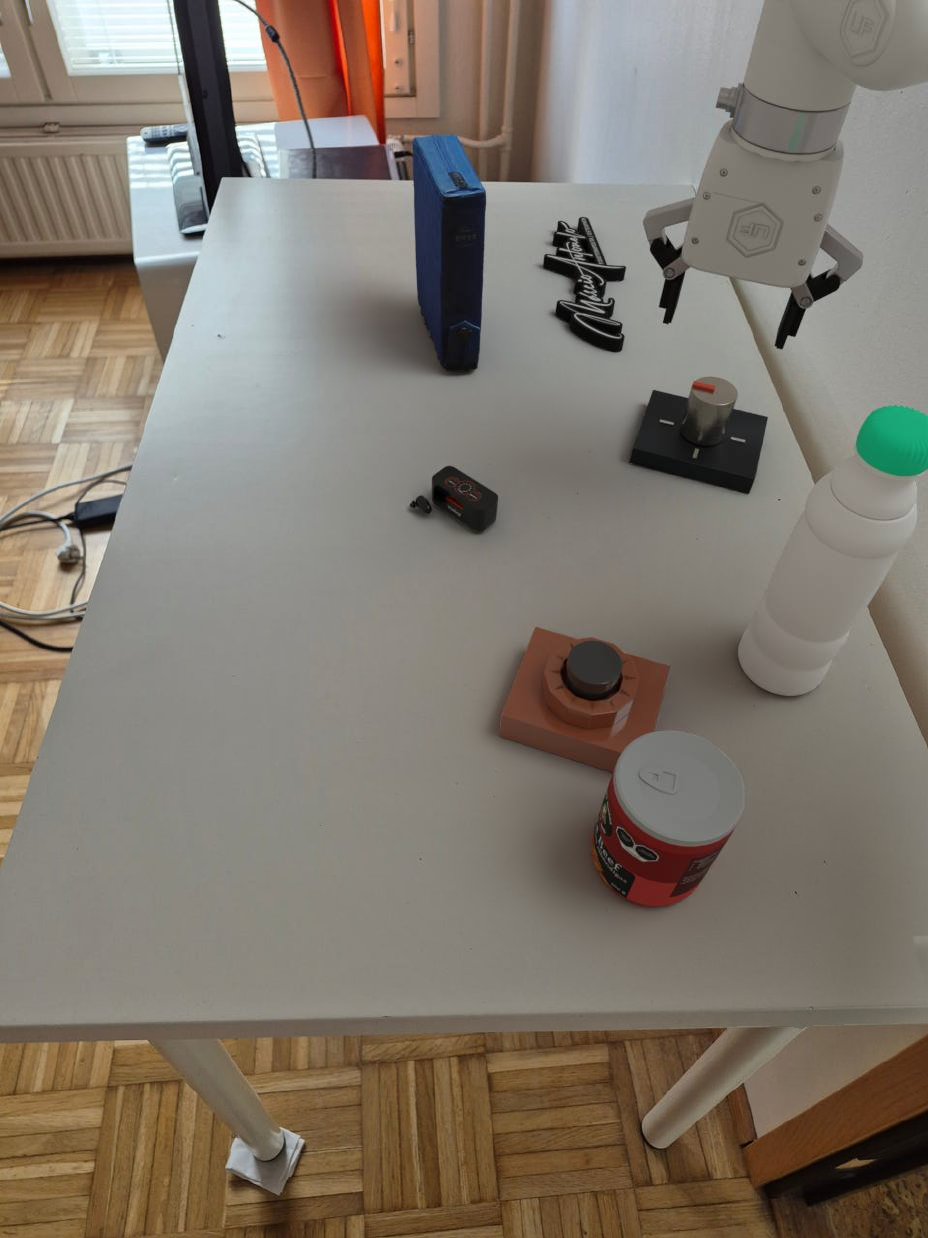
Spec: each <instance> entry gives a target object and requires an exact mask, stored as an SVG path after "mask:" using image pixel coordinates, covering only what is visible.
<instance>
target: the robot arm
mask: <svg viewBox="0 0 928 1238" xmlns="http://www.w3.org/2000/svg"><path fill="white" fill-rule="evenodd" d="M746 66H747V67H746V69H745V73H744V78H743V82H742V83H741V82H738V84H737V87H736V86H731V88H728V87H723V86H720V89H719V93H718V96H717V99H716V104H715V109H719V110H720V109H721V110H725V111H724V112H725V113H730V114H729V118H730V119H729V120H727V121H726V122H725V123H724V124H723V125H722V127H721V128H720V130H719V132H718V134H717V136H716V138H715V140H714V142H713V145H712V147H711V150H710V152H709V155H708V157H707V160H706V162H705V166H704V168H703V171H702V174H701V177H700V180H699V184H698V187H697V190H696V193H695V196H694V197H690V198H687V199H683V200H680V201H676V202H673V203H669V204H665V205H663V206H658V207H655V208H652V209H649V210H647V212H646V213H645V216H644V217H643V221H642V225H643V229H644V233H645V236H646V238H647V239H646V240H647V242H648V244H649V252H650V254H651V255H652V257H653V259H654V260H655V262H656V263H657V264H658V266H659V268H660V269H661V270H662V277H663V278H664V281H663V286H662V290H661V295H660V298H659V302H658V303H659V304H658V308H660V309H665V312H664V316H663V318H662V324H666V325H669V324H672V322H673V319H674V316H675V313H676V310H677V307H678V303H679V300H680V295H681V291H682V287H683V283H684V280H685V279H684V278H685V275H686V272H687V271H688V270H689V269H690V268H692V269H695V270H697V271H700V272H705V273H708V274H713V275H717V276H723V277H727V278H731V279H737V280H740V281H746V282H751V283H755V284H759V285H765V286H771V287H775V288H781V289H782V288H783V289H784V288H785V289H790V291H791V292H790V295H789V298H788V300H787V303H786V306H785V309H784V311H783V314H782V317H781V320H780V322H779V324H778V328H777V332H776V337H775V342H774V347H775V348H776V349H777V350H784V347H785V345H786V342H787V339H788V337H792V338H796V336H797V333H798V332H799V329H800V326H801V324H802V321H803V319H804V316H805V314H806V310H807V309H809V308H811V307H812V306H813V304H814V303H815V302H817V301H819V300H821V299H823V298H825V297H827V296H829V295H831V294H833V293H835V292H837V291H838V290H839V289H840V287H841V285H843V283H844V282H845V283H846V282H847V281H848V280H850V278H851V277H852V276H853V275H855V274H856V273H857V272H858V271H859V270H860V269H861V268H862V266H863V263H864V254H863V252H862V251H861V250H859V248H857V247H856V246H855V245H854V244H853V243H851V242H850V241H849V240H848V239H847V238H846V237H844V236H843V235H842V234H841V233H840V232H838V231H837V229H835V228H834V227H832V225H830V224H829V223H828V222H829V220H830V216H831V214H832V213H831V212H832V210H833V206H834V203H835V199H836V195H837V192H838V188H839V185H840V180H841V175H842V169H843V163H844V157H845V151H844V148H845V147H844V143H843V141H842V140H841V139H840V138H839V137H840V134H841V132H842V129H843V126H844V123H845V120H846V117H847V114H848V112H849V109H850V106H851V103H852V100H853V97H854V95H855V91H856V88H857V86H858V87H861V88H864V89H867V90H870V91H876V92H890V91H897V90H902V89H905V88H910V87H913V86H917V85H920V84H925V83H928V0H764V1H763V5H762V8H761V12H760V16H759V20H758V24H757V27H756V31H755V34H754V38H753V42H752V46H751V50H750V54H749V57H748V62H747V65H746ZM685 222H687V224H686V225H687V226H686V229H685V232H684V237H683V242H682V243H681V244H680V245H678V246H677V247H675V246H674V244H673V242H672V241H671V240H670V238H669V236H668V235H667V234H666V230H665V228H667V227H671V226H674V225H677V224H682V223H685ZM820 249H821V250H822V251H823V252H824V253H826V254H827V255H829V256H830V257H831V258H832V259H833V260H834V261H836V262H837V263H835V264H834V266H833V267H832V268H830V269H827V270H826V271H823V272H821V273H820V274H818V275H816V276H814V275H813V272H812V269H813V267H814V265H815V261H816V259H817V256H818V253H819V250H820Z"/></svg>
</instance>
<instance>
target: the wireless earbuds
mask: <svg viewBox="0 0 928 1238" xmlns="http://www.w3.org/2000/svg"><path fill="white" fill-rule="evenodd" d="M431 503H432V504H433V505H434V506H435V507H437V508H439V509H440V510H442V511H443V512H445V513H447V514H448V515H449V516H451V517H452V518H454V519H455V520H457V521H459V522H460V523H461V524H463V525H464V526H466V527H467V528H469V529H470V530H472V531H474V532H475V533H483V532H484V531H485V530H487V529H488V528H489V527H490V526H492V525H493V524H494V523H495V522H496V521H497V519H498V518H497V515H498V505H499V495H498V493H496V492H495V491H494V490H491V488H488V487H487V486H485V485H484V484H482V483H481V482H479V481H477V480H476V479H474V478H472V477H471V476H469V474H466V473H465V472H463V471H462V470H460V469H458V468H456V467H455V466H453V465H445V466H444V467H442V468H441V469H440V470H438V471H437V472H436V473H434V474H433V475H432V476H431ZM431 503H430V502H429V500H428V499H427V497H425V496H424V495H423V494H421V495H418V496H417V497H416V498H415V499H413V500H412V501H411V502H410V503H409V508H411V509H413V510H416V508H418V509H419V510H420V512H421V513H422V514H424V515H431V513H432V512H433V506H432V504H431Z"/></svg>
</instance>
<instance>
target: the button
mask: <svg viewBox="0 0 928 1238" xmlns="http://www.w3.org/2000/svg"><path fill="white" fill-rule="evenodd" d="M621 671H622V661H621V658H620V656H619V654H618V653H617V651H616V650H615V649H614V648H612V647H611V646H609V645H608V644H606V643H603V642H600V641H584V642H581V643H579V644H577V645H576V646H574V647H573V648H572V649H571V651H570V652H569V655H568V659H567V663H566V668H565V673H564V677H565V681H566V684H567V686H568V687H569V689H570V690H571V691H572V692H573V693H575V694H576V695H578V696H580V697H582V698H585V699H589V700H599V699H603V698H606V697H608V696H609V695H611V694H612V693H613V692H614V690H615V689H616V687H617V684H618V681H619V677H620V674H621Z"/></svg>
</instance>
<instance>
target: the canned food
mask: <svg viewBox="0 0 928 1238" xmlns="http://www.w3.org/2000/svg"><path fill="white" fill-rule="evenodd" d="M745 804H746V789H745V783H744V780H743V778H742V775H741V773H740V771H739V769H738V768H737V766H736V765H735V763H734V762H733V760H732V759H731V757H729V756H728V755H727V754H726V753H725V752H724V751H723V750H722V749H720V748H719V747H718V746H716V744H714V743H713V742H710V741H709V740H707V739H705V738H704V737H701V736H699V735H696V734H693V733H691V732H687V731H681V730H671V729H670V730H669V729H663V730H657V731H655V730H654V732H651V733H648V734H645V735H642V736H641V737H639V738H637V739H635V740H634V741H633V742H631V743H630V744H629V745H628V746H627V747H626V748H625V750H624V751H623V753H622V754H621V756H620V757H619V759H618V761H617V763H616V766H615V768H614V771H613V772H612V774H611V777H610V780H609V783H608V786H607V788H606V792H605V795H604V798H603V800H602V803H601V807H600V810H599V813H598V816H597V819H596V822H595V825H594V828H593V830H592V834H591V840H590V851H591V852H590V853H591V857H592V860H593V864H594V868H595V869H596V872H597V873H598V875H599V877H600V879H601V880H602V881H603V882H604V884H605V885H606V887H608V888H609V890H611V891H612V892H613V893H614V894H616V895H617V896H618V897H620V898H622V899H624V900H625V901H627V902H630V903H632V904H635V905H638V906H642V907H647V908H650V907H651V908H660V907H661V908H662V907H666V906H670V905H674V904H676V903H678V902H682V901H684V900H685V899H686V898H688V897H690V896H691V895H692V894H693V893H694V892H695V891H696V889H697V888H699V886H700V884H701V882H702V881H703V880H704V878H705V876H706V875H707V873H708V871H709V870H710V869H711V867H712V865H713V864H714V862H715V861H716V859H717V858H718V857H719V856H720V853H721V852H722V850H723V848H724V847H725V846H726V844H727V843H728V841H729V839H730V838H731V836H732V835H733V832H734V831H735V829H736V827H737V825H738V824H739V823H740V820H741V818H742V815H743V813H744V809H745V806H746V805H745Z"/></svg>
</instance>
